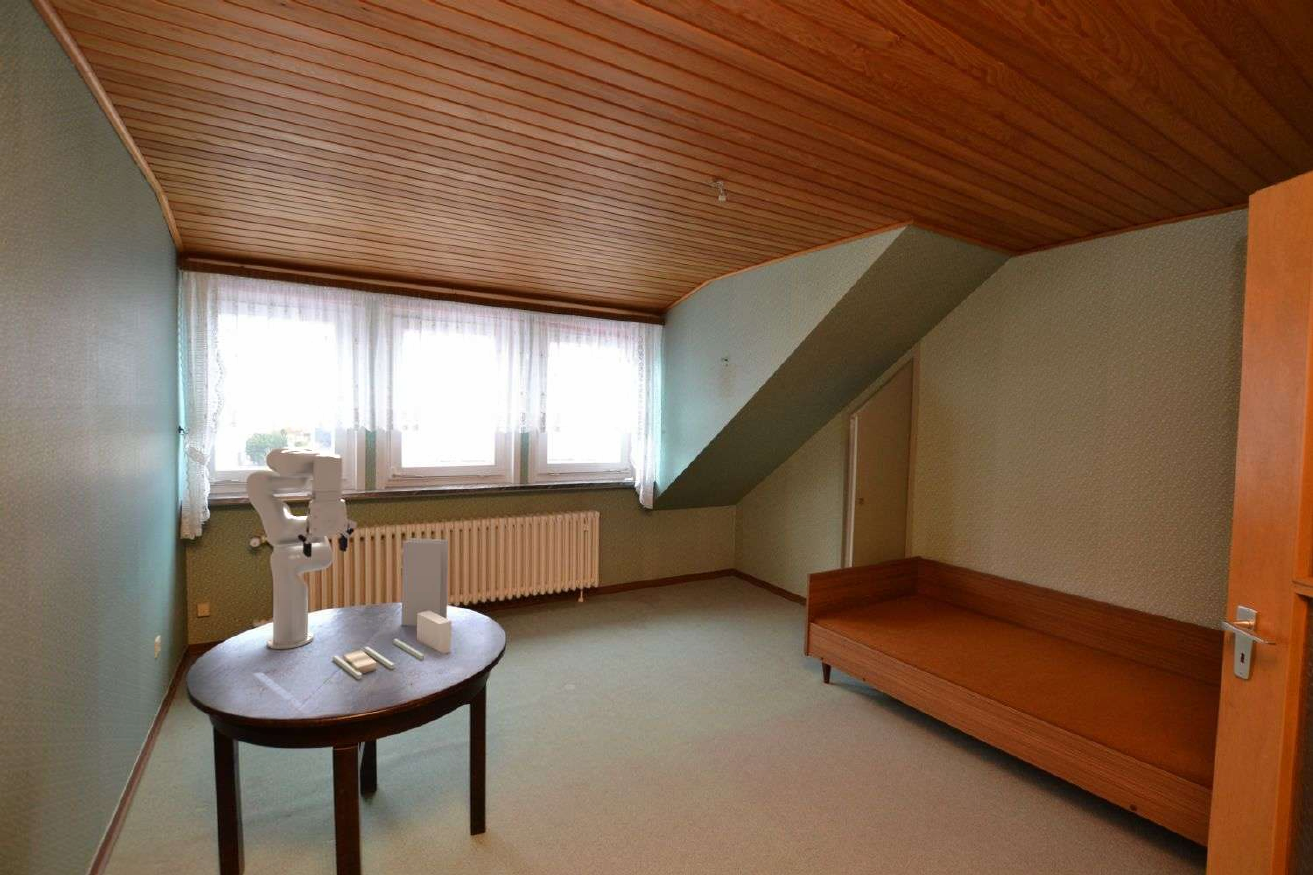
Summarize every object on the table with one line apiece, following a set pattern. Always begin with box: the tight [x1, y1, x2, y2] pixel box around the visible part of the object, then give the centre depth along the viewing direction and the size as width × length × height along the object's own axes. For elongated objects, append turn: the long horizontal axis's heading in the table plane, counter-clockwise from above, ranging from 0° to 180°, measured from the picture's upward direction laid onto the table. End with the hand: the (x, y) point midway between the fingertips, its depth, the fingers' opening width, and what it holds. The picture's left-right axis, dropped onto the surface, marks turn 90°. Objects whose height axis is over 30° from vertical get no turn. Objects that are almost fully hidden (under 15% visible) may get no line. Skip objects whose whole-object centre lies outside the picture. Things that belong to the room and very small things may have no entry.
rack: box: [332, 638, 425, 680], centre depth 170 cm, size 18×19×2 cm
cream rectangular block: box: [416, 611, 452, 654], centre depth 184 cm, size 14×4×10 cm, turn 50°
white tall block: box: [400, 537, 449, 627], centre depth 204 cm, size 14×6×30 cm, turn 84°
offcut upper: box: [342, 649, 377, 675], centre depth 166 cm, size 12×5×2 cm, turn 46°
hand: (325, 553), depth 168 cm, fingers open, 9 cm apart
